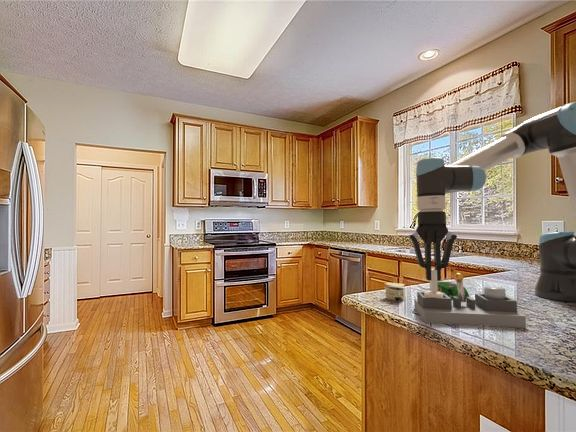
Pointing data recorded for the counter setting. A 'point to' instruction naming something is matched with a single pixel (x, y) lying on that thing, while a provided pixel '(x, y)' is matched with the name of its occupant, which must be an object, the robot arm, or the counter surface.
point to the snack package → (450, 289)
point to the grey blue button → (494, 293)
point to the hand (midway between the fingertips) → (433, 291)
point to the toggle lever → (460, 286)
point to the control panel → (469, 311)
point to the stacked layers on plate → (395, 291)
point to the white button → (433, 294)
